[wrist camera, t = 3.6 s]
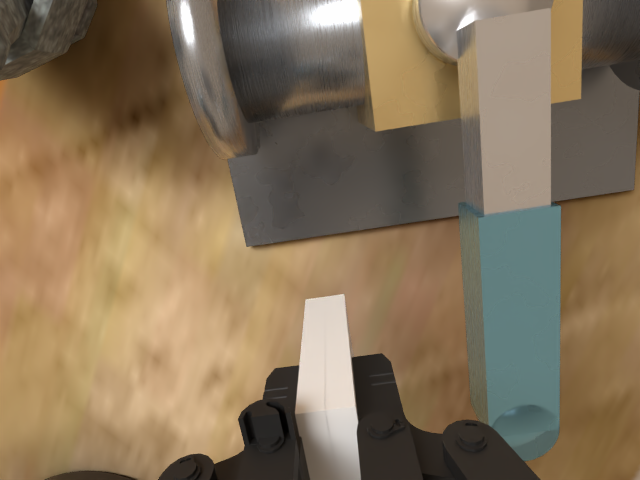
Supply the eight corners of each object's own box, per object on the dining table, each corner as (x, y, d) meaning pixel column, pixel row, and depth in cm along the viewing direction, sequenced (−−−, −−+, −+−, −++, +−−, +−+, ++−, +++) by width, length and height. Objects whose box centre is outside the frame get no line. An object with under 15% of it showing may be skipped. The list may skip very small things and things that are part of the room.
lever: (446, 409, 21) (469, 467, 18) (406, -57, 15) (430, -102, 12) (539, 397, 21) (580, 454, 18) (534, -80, 15) (595, -133, 12)
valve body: (248, 243, 29) (212, 310, 19) (192, -14, 24) (114, -85, 15) (627, 187, 27) (780, 231, 18) (641, -95, 23) (854, -225, 14)
